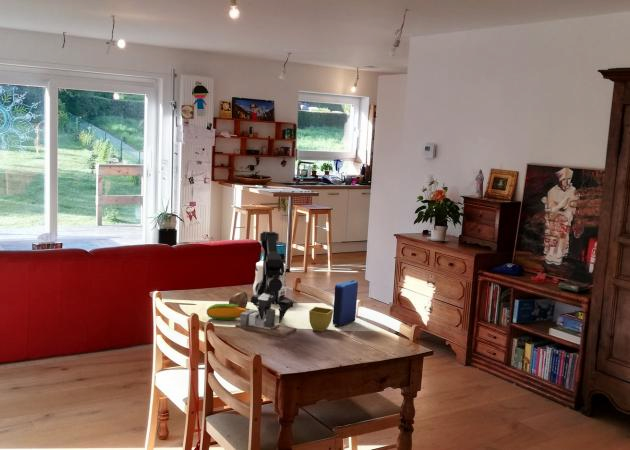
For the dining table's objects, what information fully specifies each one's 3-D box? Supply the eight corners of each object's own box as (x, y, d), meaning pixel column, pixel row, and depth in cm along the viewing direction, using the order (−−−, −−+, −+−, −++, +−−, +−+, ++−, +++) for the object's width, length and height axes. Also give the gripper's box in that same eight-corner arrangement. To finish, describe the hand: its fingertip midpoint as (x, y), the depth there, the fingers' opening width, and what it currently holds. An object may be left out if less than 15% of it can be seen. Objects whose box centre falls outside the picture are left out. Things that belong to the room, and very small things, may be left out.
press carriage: (258, 321, 310) (259, 304, 308) (279, 325, 305) (280, 308, 304) (248, 325, 302) (249, 308, 301) (270, 330, 298) (271, 312, 296)
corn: (206, 300, 315) (250, 301, 319) (206, 316, 317) (249, 316, 320) (206, 306, 308) (251, 306, 311) (206, 322, 310) (250, 322, 313)
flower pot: (332, 328, 310) (333, 309, 308) (326, 333, 301) (327, 313, 300) (314, 325, 312) (315, 306, 311) (307, 330, 304) (308, 310, 303)
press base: (249, 320, 314) (250, 307, 313) (295, 330, 303) (296, 317, 302) (235, 326, 303) (235, 313, 303) (282, 337, 293) (282, 323, 292)
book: (347, 319, 325) (350, 278, 322) (357, 322, 322) (360, 280, 319) (330, 325, 313) (333, 283, 311) (340, 328, 310) (343, 285, 308)
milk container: (252, 293, 365) (254, 259, 363) (284, 294, 367) (286, 261, 365) (252, 301, 348) (254, 266, 346) (286, 302, 350) (288, 268, 347)
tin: (233, 314, 323) (233, 297, 321) (227, 313, 324) (227, 296, 322) (247, 307, 336) (248, 290, 335) (242, 306, 338) (242, 289, 336)
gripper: (244, 286, 297) (242, 321, 299) (281, 292, 288) (280, 329, 290) (258, 281, 306) (256, 315, 309) (294, 288, 298) (292, 323, 300)
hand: (270, 320), depth 302 cm, fingers open, 9 cm apart
